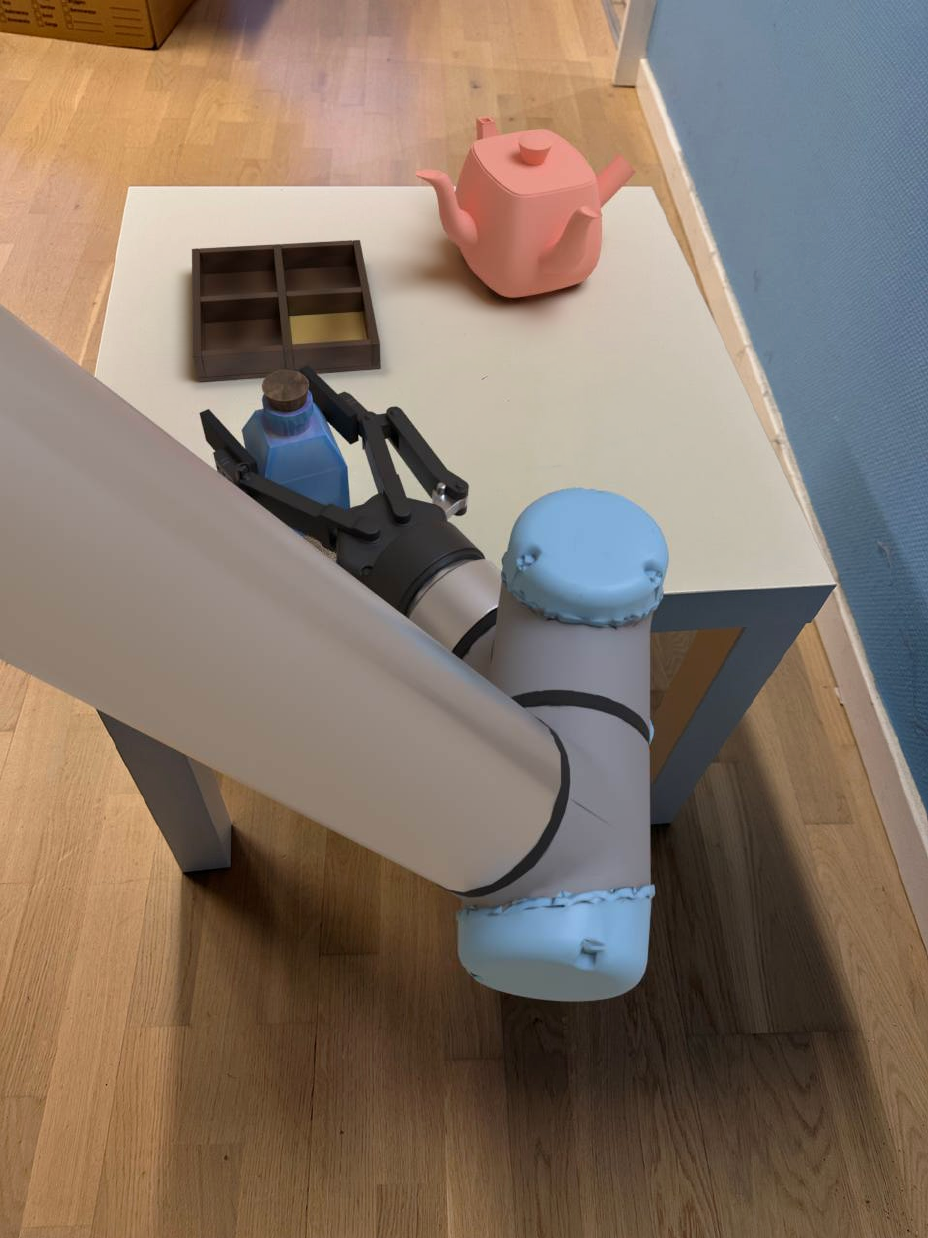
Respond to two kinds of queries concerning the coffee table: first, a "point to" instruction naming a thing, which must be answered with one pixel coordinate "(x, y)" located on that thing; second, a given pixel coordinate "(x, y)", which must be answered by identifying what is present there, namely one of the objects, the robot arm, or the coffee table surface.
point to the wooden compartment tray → (281, 310)
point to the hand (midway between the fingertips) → (257, 402)
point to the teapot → (526, 209)
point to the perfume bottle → (296, 442)
